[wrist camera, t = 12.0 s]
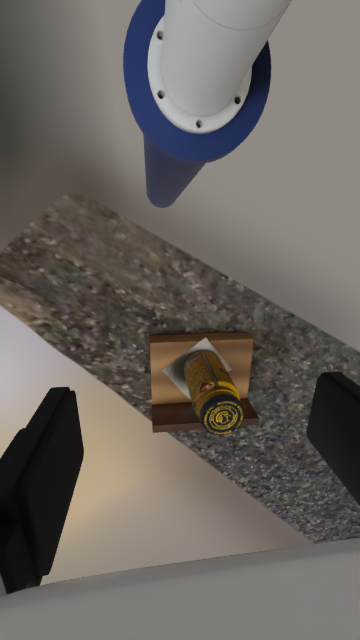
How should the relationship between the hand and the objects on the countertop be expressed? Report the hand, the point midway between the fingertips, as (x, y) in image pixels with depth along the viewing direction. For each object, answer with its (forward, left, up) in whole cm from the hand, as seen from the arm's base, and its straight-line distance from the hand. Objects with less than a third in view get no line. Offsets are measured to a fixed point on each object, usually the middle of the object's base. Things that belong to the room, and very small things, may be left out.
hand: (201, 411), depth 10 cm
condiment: (+14, +5, -27) cm, 31 cm away
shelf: (+15, +6, -30) cm, 34 cm away
